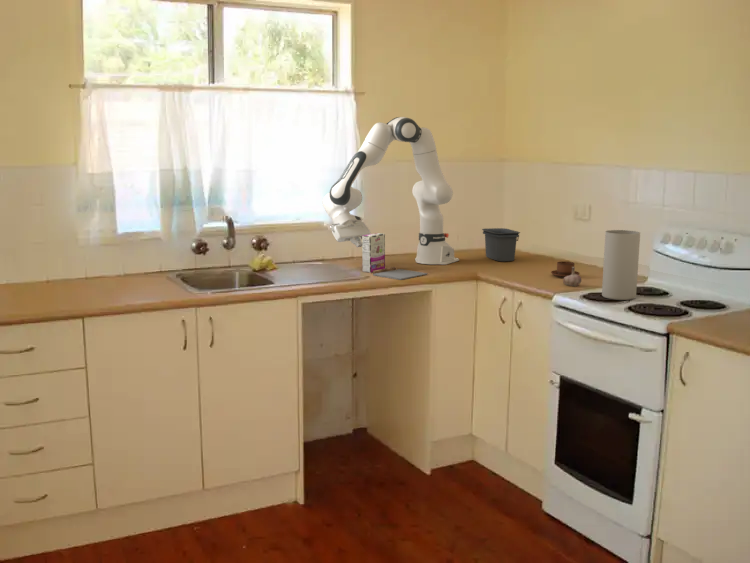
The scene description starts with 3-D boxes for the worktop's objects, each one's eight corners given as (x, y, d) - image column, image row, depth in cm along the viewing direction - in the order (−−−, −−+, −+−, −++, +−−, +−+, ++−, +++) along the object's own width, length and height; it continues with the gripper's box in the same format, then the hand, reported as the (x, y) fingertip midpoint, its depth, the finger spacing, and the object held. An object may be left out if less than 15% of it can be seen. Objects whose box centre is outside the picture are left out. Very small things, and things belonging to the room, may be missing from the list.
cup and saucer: (552, 273, 361) (552, 260, 360) (579, 275, 358) (580, 261, 356) (549, 278, 350) (550, 264, 349) (578, 279, 346) (579, 265, 345)
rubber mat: (400, 270, 366) (400, 268, 366) (427, 274, 356) (427, 273, 355) (372, 275, 353) (372, 273, 353) (400, 280, 343) (400, 278, 342)
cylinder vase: (642, 299, 306) (647, 233, 301) (613, 301, 302) (617, 234, 297) (623, 293, 317) (627, 229, 313) (595, 295, 314) (599, 230, 309)
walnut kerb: (394, 270, 366) (394, 267, 366) (396, 270, 365) (396, 267, 365) (372, 274, 356) (372, 270, 356) (374, 274, 355) (374, 271, 355)
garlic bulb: (579, 288, 328) (581, 268, 327) (561, 286, 331) (562, 267, 329) (582, 284, 335) (583, 265, 334) (563, 283, 338) (564, 264, 336)
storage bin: (478, 256, 408) (479, 228, 406) (507, 255, 412) (508, 227, 410) (495, 263, 388) (496, 233, 386) (525, 261, 392) (526, 232, 389)
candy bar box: (376, 268, 371) (376, 232, 368) (385, 269, 368) (385, 233, 365) (361, 271, 362) (361, 235, 359) (370, 272, 359) (370, 236, 356)
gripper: (332, 220, 364) (347, 243, 359) (363, 216, 379) (378, 239, 374) (325, 229, 368) (340, 252, 363) (356, 225, 383) (371, 248, 378)
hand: (360, 246), depth 369 cm, fingers closed
